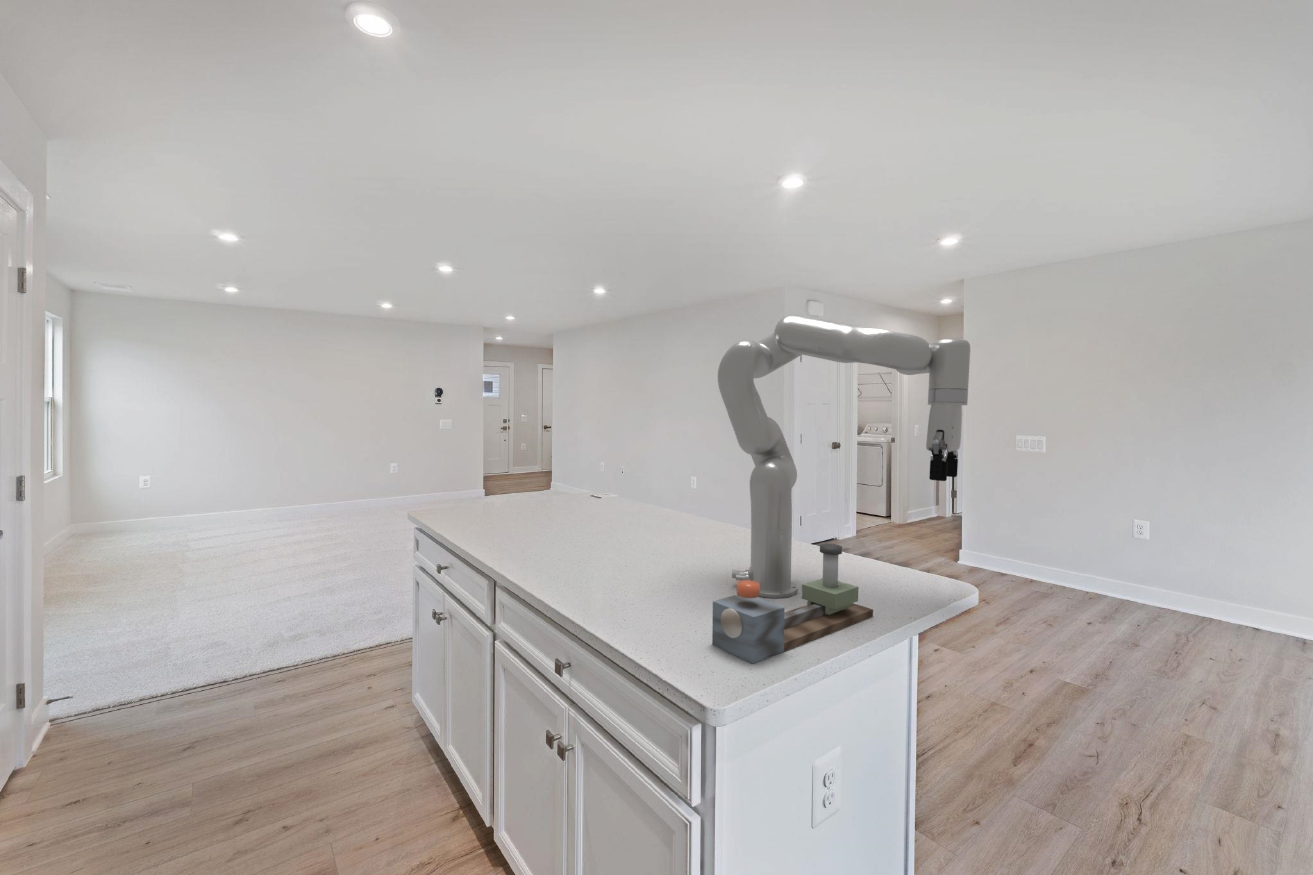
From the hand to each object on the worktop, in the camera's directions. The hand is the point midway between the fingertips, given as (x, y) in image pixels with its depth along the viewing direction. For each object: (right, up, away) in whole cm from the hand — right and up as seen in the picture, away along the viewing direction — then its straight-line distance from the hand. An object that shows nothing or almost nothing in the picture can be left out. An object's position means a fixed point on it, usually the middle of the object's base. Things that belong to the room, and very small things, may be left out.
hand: (943, 478), depth 122 cm
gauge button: (-45, -20, -19) cm, 53 cm away
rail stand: (-34, -29, -10) cm, 46 cm away
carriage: (-26, -26, -4) cm, 37 cm away
